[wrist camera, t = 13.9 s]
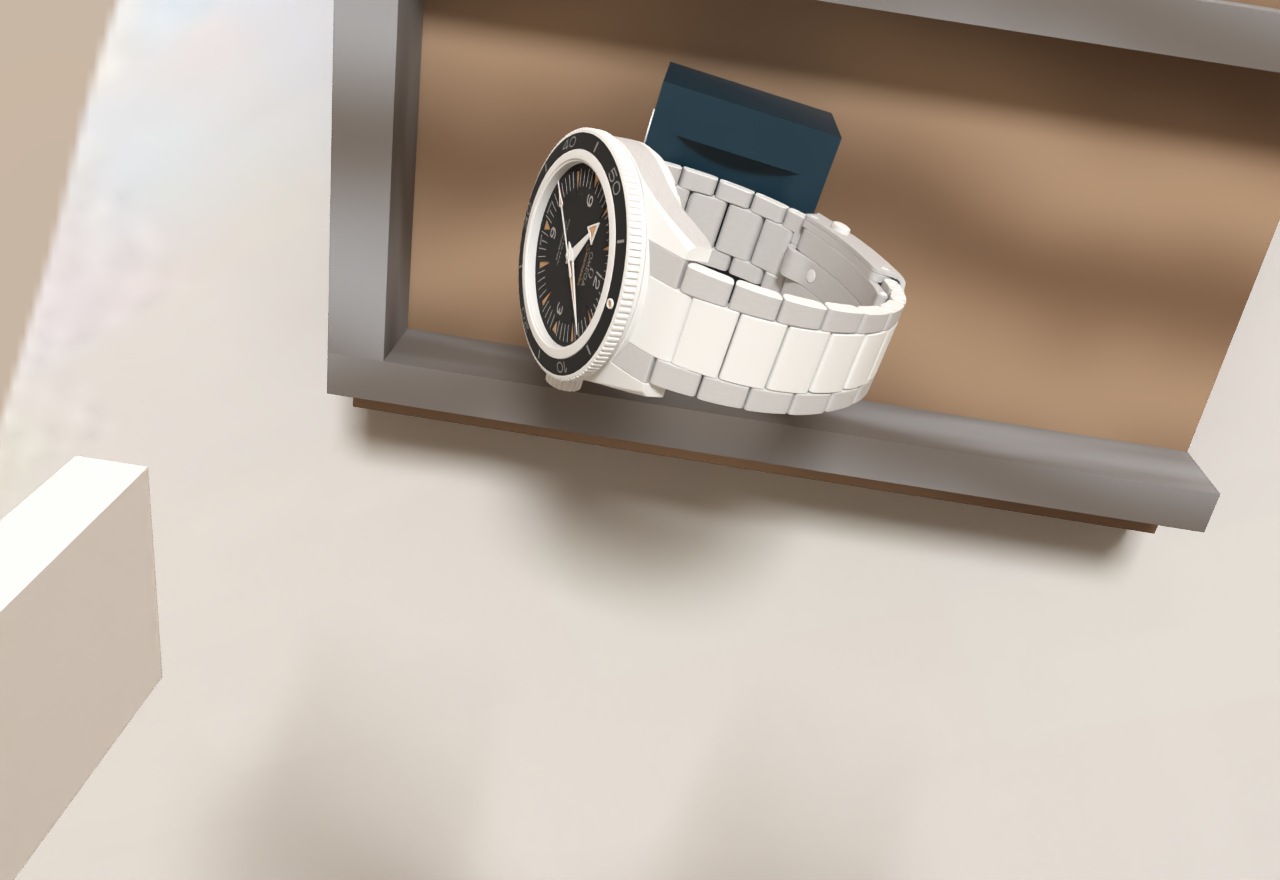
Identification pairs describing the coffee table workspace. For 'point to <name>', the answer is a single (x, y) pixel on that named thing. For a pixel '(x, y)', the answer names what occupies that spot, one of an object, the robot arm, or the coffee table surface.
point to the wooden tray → (862, 200)
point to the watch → (704, 258)
